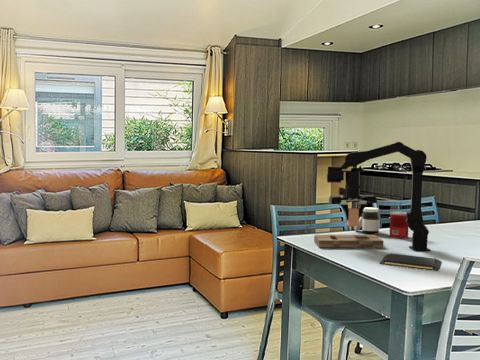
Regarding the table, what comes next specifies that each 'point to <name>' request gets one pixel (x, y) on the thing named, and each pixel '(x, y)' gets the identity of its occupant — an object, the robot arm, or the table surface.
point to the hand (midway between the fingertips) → (352, 220)
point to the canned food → (398, 225)
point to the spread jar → (369, 221)
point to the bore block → (348, 241)
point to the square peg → (353, 217)
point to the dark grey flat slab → (411, 262)
